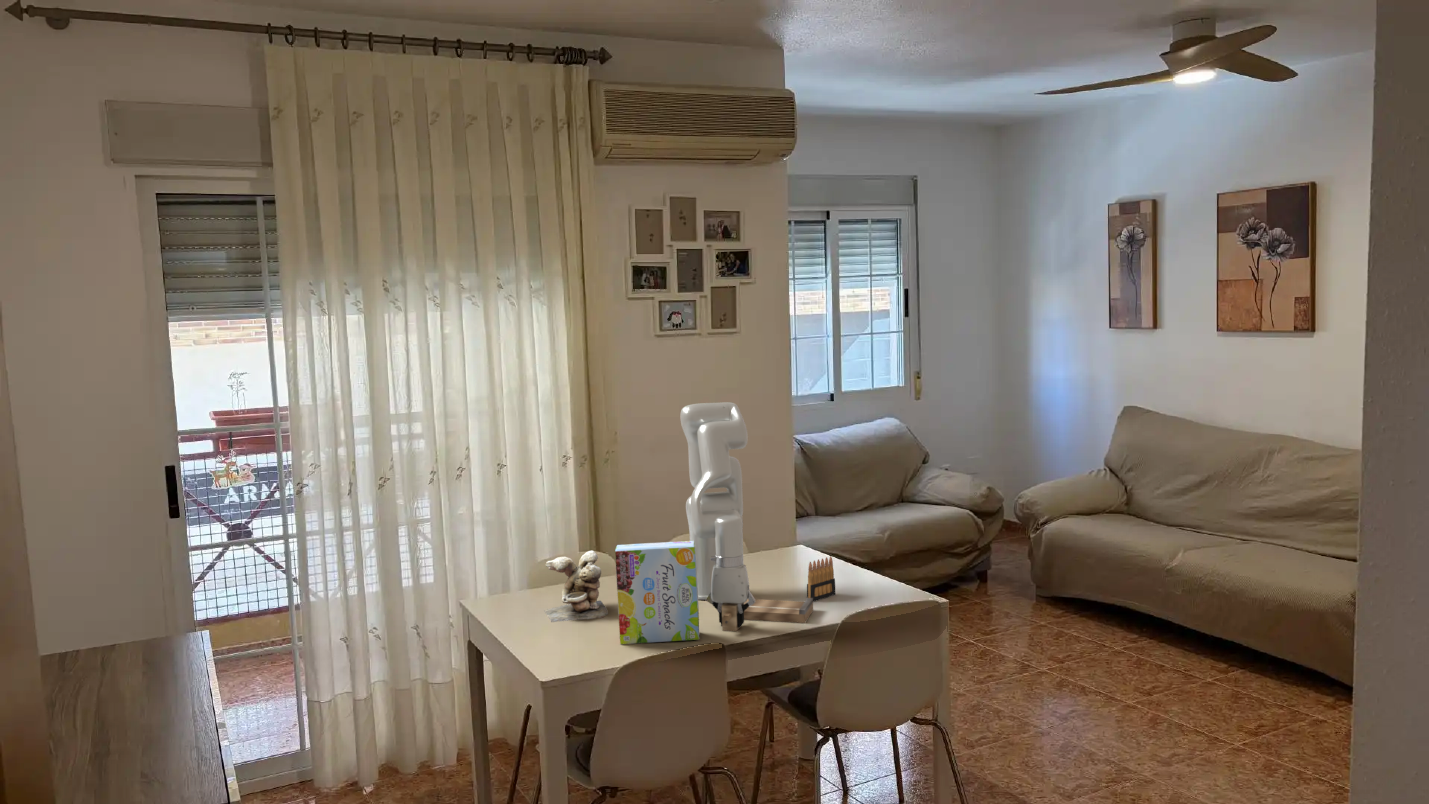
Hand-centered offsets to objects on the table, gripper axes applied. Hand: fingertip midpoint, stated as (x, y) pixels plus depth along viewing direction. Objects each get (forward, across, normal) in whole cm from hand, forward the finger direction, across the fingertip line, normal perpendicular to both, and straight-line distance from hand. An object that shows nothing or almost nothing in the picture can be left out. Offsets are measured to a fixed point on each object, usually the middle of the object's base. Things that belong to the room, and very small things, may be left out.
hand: (731, 625), depth 295 cm
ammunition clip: (+1, +19, +33) cm, 38 cm away
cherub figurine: (+1, -50, +6) cm, 50 cm away
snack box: (+1, -17, -12) cm, 21 cm away
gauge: (+1, 0, 0) cm, 1 cm away
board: (+1, +8, +14) cm, 16 cm away
